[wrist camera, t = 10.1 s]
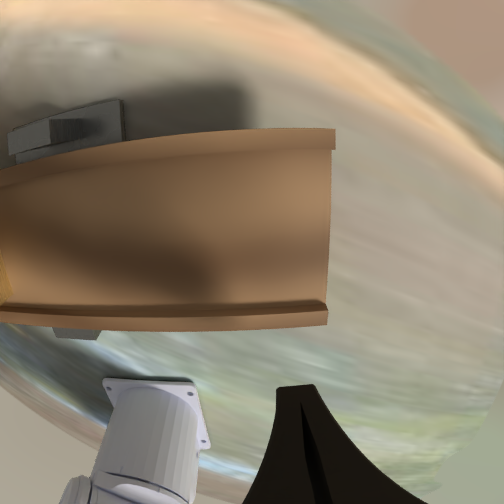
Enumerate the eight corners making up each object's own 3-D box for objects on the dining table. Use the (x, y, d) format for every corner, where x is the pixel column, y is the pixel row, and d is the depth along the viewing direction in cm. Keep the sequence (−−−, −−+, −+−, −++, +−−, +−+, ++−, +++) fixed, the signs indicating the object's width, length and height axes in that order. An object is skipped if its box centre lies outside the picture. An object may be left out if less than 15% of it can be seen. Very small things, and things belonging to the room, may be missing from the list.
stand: (152, 312, 20) (136, 350, 16) (57, 310, 20) (31, 341, 16) (123, 100, 15) (91, 95, 11) (18, 128, 15) (-22, 134, 11)
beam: (309, 278, 19) (333, 343, 13) (-32, 284, 19) (-74, 321, 13) (310, 127, 15) (346, 129, 10) (-57, 189, 15) (-109, 212, 10)
